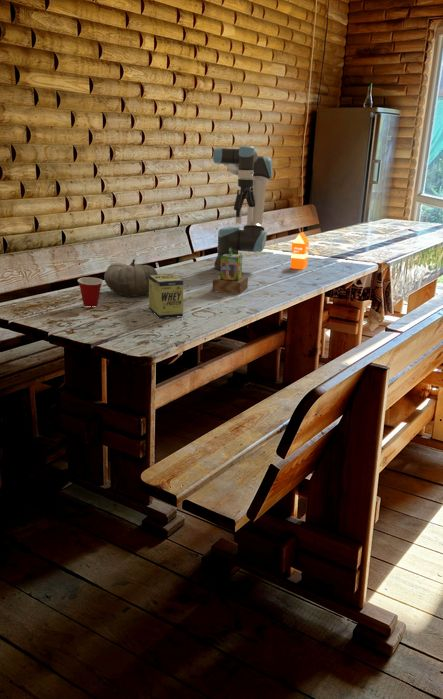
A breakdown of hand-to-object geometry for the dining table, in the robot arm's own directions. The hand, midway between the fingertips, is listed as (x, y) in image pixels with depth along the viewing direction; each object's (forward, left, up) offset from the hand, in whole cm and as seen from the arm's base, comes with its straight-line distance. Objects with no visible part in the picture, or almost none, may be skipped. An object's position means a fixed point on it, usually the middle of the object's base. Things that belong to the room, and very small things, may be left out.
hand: (244, 221), depth 343 cm
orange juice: (+12, +53, -31) cm, 62 cm away
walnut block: (+3, -20, -31) cm, 37 cm away
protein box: (-1, -75, -31) cm, 81 cm away
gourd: (-33, -54, -31) cm, 71 cm away
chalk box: (+3, -21, -26) cm, 33 cm away
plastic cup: (-34, -83, -31) cm, 95 cm away
